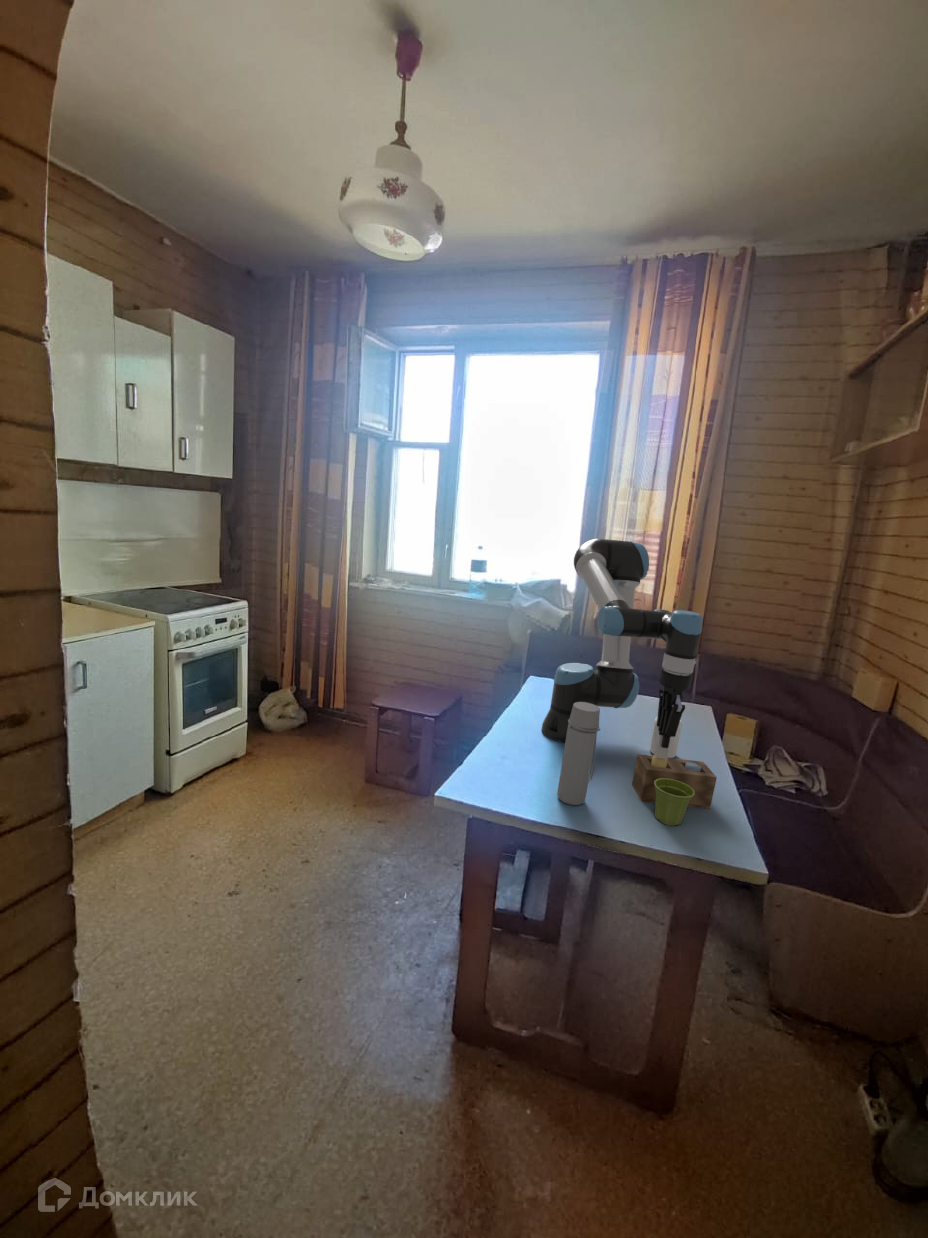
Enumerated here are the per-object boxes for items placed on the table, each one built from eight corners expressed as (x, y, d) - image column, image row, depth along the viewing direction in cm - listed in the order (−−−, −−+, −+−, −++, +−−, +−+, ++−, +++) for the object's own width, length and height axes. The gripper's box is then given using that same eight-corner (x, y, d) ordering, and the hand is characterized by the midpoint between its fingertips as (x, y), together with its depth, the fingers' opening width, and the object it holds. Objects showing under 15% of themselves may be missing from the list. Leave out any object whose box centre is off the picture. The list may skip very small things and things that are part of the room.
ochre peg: (649, 788, 151) (655, 760, 149) (645, 781, 155) (650, 753, 153) (664, 790, 151) (669, 761, 149) (659, 783, 155) (665, 755, 153)
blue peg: (682, 796, 151) (688, 768, 150) (678, 789, 155) (683, 761, 153) (697, 797, 151) (703, 769, 150) (692, 790, 155) (697, 763, 153)
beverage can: (676, 753, 183) (683, 717, 181) (674, 762, 176) (681, 725, 174) (650, 746, 186) (657, 711, 184) (647, 754, 179) (654, 718, 177)
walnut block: (640, 801, 149) (647, 769, 147) (631, 784, 158) (637, 754, 156) (709, 809, 149) (716, 777, 147) (696, 792, 158) (703, 761, 156)
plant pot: (647, 805, 147) (653, 774, 145) (686, 815, 145) (693, 783, 143) (648, 824, 138) (654, 791, 136) (689, 834, 136) (696, 800, 134)
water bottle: (567, 809, 141) (582, 713, 136) (550, 793, 148) (564, 701, 143) (597, 805, 144) (614, 711, 139) (579, 789, 151) (594, 700, 146)
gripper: (701, 680, 140) (683, 770, 145) (682, 666, 153) (666, 748, 157) (670, 677, 140) (653, 766, 145) (654, 662, 153) (639, 745, 157)
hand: (660, 757), depth 151 cm, fingers closed
